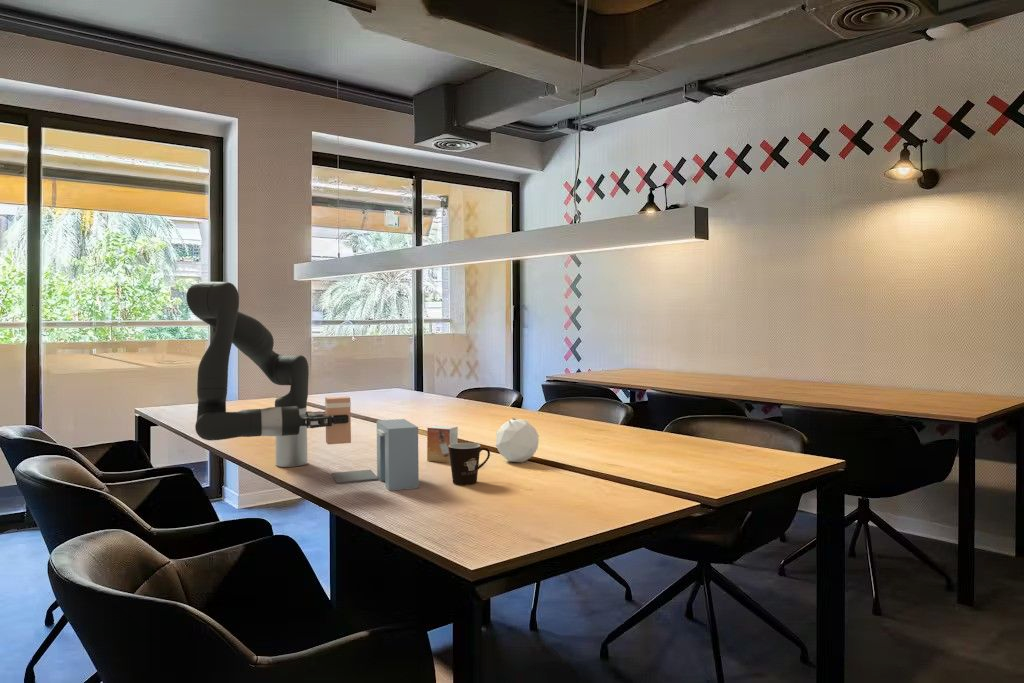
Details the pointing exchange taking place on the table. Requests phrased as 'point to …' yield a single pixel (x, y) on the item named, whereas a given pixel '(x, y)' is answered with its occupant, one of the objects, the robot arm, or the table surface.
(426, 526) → the table surface
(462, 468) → the coffee mug
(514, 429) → the geodesic sphere
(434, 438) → the small box
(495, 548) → the table surface
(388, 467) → the dispenser
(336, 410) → the small cardboard carton
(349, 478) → the mat
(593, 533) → the table surface
